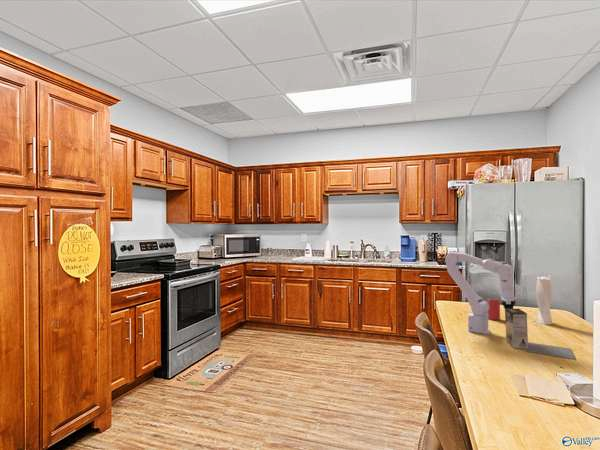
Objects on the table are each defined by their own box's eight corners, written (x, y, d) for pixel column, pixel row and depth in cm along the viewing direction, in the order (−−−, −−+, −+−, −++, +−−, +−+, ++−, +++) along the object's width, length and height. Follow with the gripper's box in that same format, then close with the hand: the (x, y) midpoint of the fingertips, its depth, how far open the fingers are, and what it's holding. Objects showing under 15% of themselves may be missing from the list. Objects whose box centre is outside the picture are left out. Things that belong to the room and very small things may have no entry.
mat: (526, 351, 151) (526, 351, 151) (525, 342, 163) (525, 341, 163) (576, 359, 142) (576, 359, 142) (570, 349, 154) (570, 348, 154)
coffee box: (505, 341, 164) (504, 308, 164) (520, 342, 163) (518, 308, 163) (513, 348, 155) (511, 312, 155) (529, 348, 154) (527, 313, 154)
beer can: (498, 318, 205) (498, 297, 205) (501, 321, 199) (501, 300, 199) (486, 317, 207) (486, 297, 207) (488, 320, 201) (488, 299, 201)
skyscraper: (557, 325, 191) (557, 274, 191) (546, 326, 189) (546, 275, 189) (542, 320, 199) (542, 272, 199) (532, 322, 197) (531, 273, 197)
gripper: (517, 291, 163) (519, 320, 162) (515, 286, 175) (518, 313, 175) (499, 290, 166) (502, 319, 166) (499, 286, 179) (502, 312, 178)
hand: (509, 316), depth 170 cm, fingers closed
